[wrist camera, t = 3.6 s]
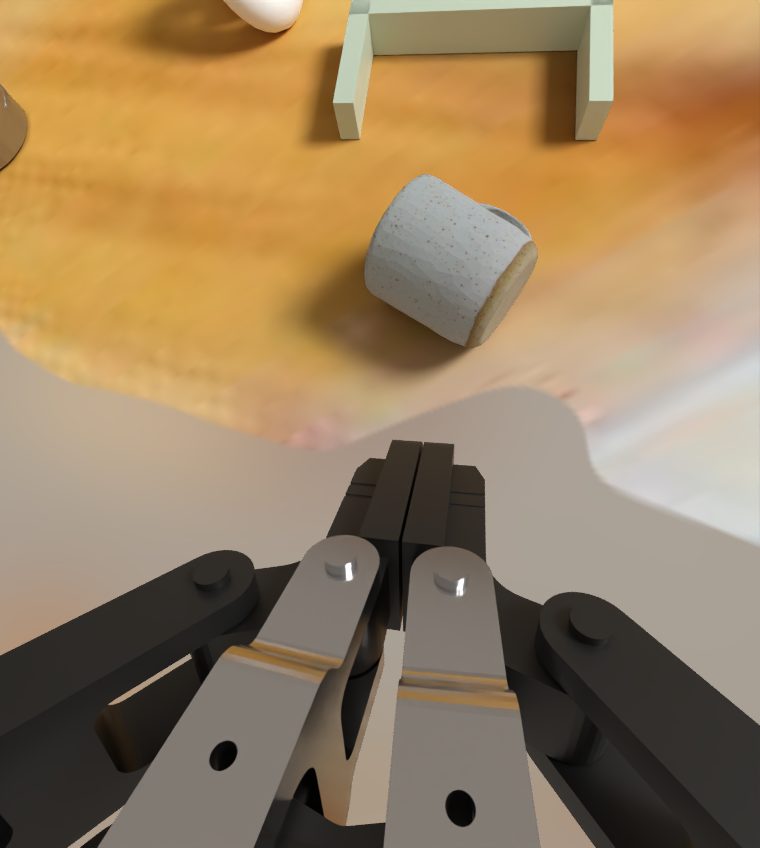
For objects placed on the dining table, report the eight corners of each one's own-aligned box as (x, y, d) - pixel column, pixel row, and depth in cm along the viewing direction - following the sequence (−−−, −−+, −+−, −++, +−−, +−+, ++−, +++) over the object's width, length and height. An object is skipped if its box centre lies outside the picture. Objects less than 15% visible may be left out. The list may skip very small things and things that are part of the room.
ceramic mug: (470, 374, 29) (485, 315, 21) (369, 313, 31) (351, 239, 23) (555, 253, 31) (596, 160, 23) (454, 202, 32) (462, 101, 25)
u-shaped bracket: (596, 140, 32) (613, 100, 29) (340, 139, 35) (332, 103, 32) (597, 34, 34) (613, -11, 32) (357, 41, 37) (351, -1, 34)
